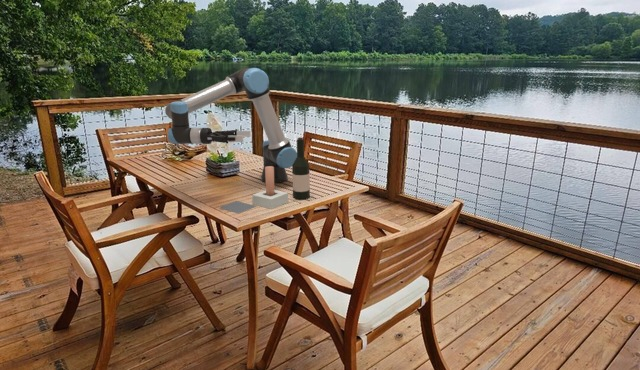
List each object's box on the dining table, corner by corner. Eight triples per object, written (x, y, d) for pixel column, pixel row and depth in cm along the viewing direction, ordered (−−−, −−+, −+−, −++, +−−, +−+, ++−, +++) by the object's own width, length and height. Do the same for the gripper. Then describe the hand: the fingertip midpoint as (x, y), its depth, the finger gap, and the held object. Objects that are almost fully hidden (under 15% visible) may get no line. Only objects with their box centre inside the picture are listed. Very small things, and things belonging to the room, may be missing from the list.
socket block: (252, 204, 199) (252, 194, 198) (269, 198, 208) (269, 188, 207) (271, 209, 192) (271, 199, 191) (288, 202, 202) (288, 192, 200)
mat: (217, 208, 195) (217, 207, 194) (236, 201, 204) (236, 200, 204) (238, 214, 187) (238, 213, 187) (257, 207, 196) (257, 206, 196)
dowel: (264, 204, 200) (263, 167, 195) (270, 202, 203) (269, 165, 198) (271, 205, 198) (269, 168, 193) (276, 203, 201) (275, 166, 196)
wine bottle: (292, 195, 213) (291, 136, 205) (309, 194, 214) (308, 136, 205) (293, 200, 205) (291, 139, 197) (310, 199, 206) (309, 139, 197)
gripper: (211, 139, 209) (253, 139, 207) (192, 149, 185) (240, 149, 184) (210, 124, 207) (252, 124, 205) (191, 132, 183) (239, 132, 182)
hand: (246, 136), depth 195 cm, fingers open, 13 cm apart
